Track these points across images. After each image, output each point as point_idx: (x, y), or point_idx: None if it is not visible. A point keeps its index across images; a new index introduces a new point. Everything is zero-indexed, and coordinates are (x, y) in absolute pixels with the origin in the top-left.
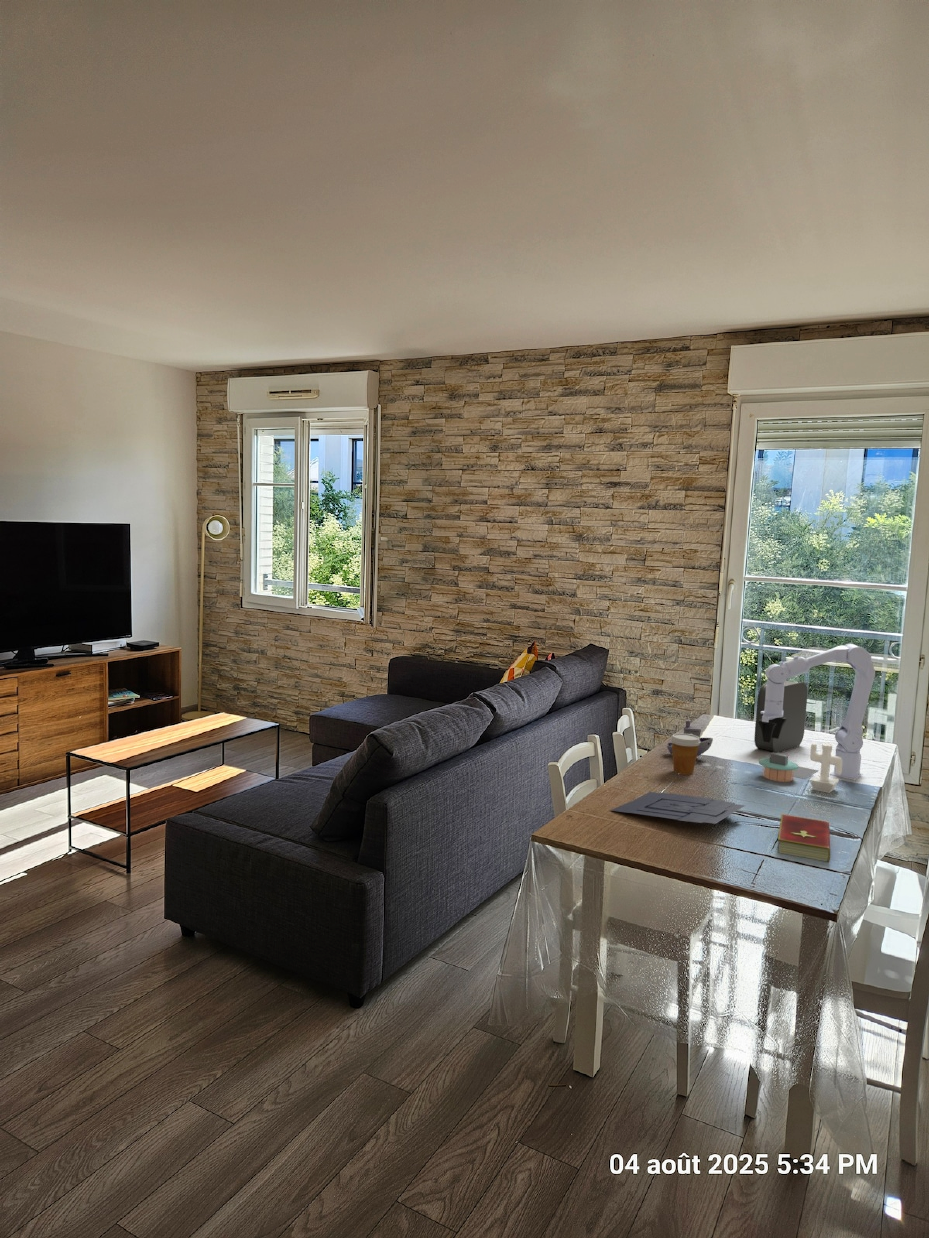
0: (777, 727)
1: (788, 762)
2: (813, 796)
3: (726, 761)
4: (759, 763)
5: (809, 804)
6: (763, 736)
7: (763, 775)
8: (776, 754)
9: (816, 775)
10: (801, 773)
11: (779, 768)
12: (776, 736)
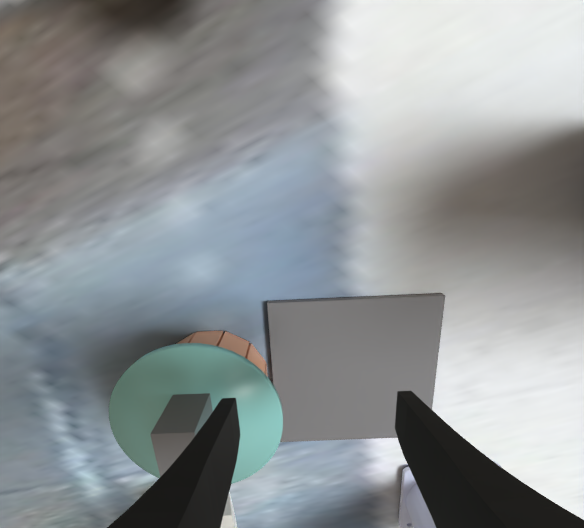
0: (447, 519)
1: (251, 443)
2: (131, 500)
3: (286, 115)
4: (137, 360)
5: (50, 515)
6: (204, 431)
7: (183, 341)
8: (161, 460)
9: (226, 519)
10: (337, 413)
11: (125, 450)
12: (402, 432)
